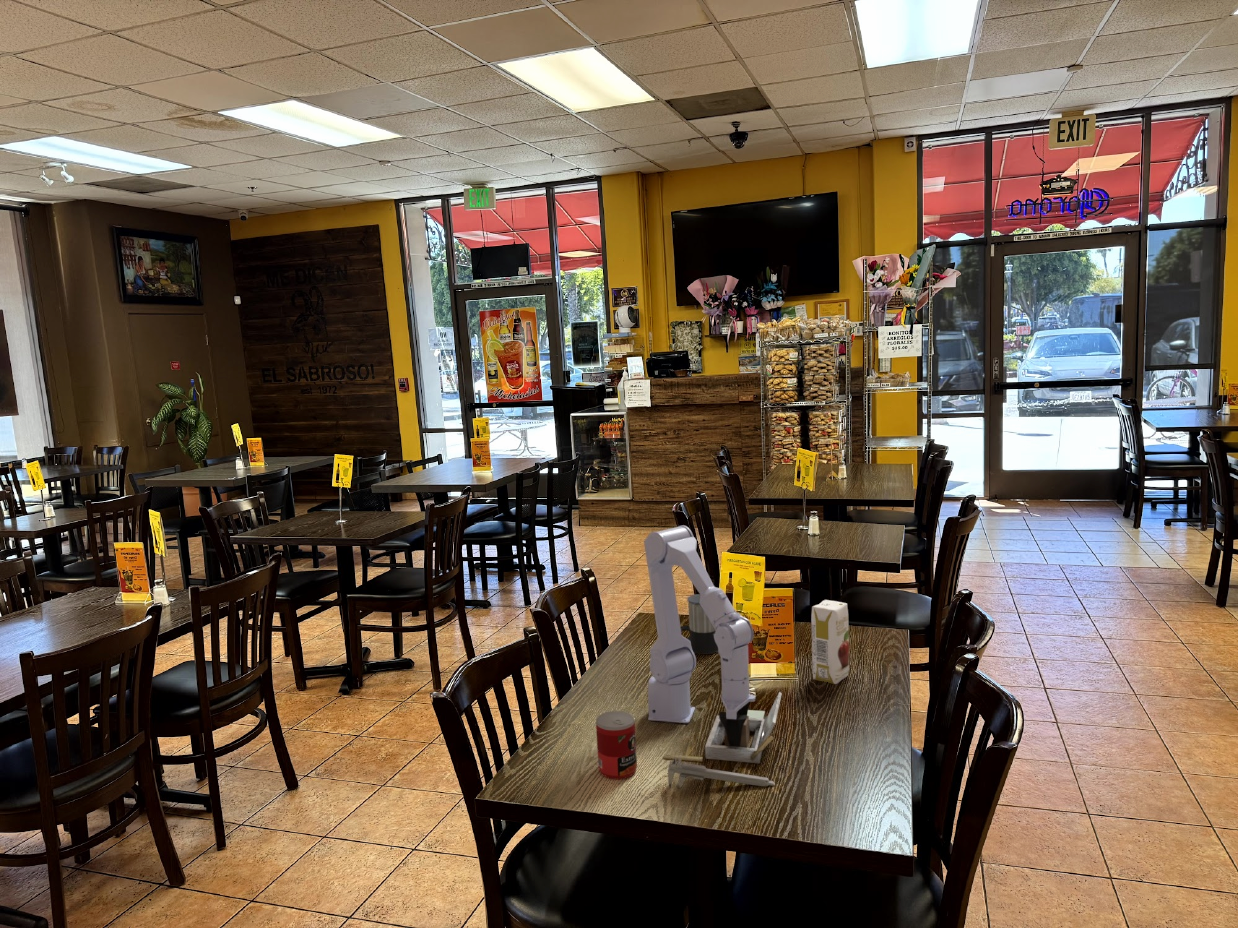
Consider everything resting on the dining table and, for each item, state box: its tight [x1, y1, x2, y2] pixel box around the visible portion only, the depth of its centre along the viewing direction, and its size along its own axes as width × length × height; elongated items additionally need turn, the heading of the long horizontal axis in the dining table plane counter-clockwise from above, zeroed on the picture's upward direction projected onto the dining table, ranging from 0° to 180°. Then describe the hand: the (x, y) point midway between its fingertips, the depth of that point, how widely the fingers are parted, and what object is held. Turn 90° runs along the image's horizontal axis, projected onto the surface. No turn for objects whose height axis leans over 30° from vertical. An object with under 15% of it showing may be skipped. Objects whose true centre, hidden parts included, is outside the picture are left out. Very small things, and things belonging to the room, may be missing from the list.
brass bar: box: [663, 753, 704, 762], centre depth 171 cm, size 8×1×1 cm, turn 75°
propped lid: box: [750, 691, 783, 761], centre depth 174 cm, size 5×16×8 cm, turn 164°
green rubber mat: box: [747, 709, 766, 719], centre depth 188 cm, size 8×8×1 cm
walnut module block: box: [724, 716, 750, 748], centre depth 176 cm, size 4×4×6 cm
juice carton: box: [810, 599, 850, 685], centre depth 208 cm, size 8×9×19 cm
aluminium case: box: [704, 714, 765, 764], centre depth 176 cm, size 11×15×3 cm
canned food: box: [595, 710, 638, 780], centre depth 167 cm, size 8×8×11 cm
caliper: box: [667, 756, 776, 789], centre depth 160 cm, size 20×1×6 cm, turn 87°
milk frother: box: [680, 593, 719, 655], centre depth 236 cm, size 14×16×15 cm
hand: (737, 736), depth 176 cm, fingers open, 7 cm apart
